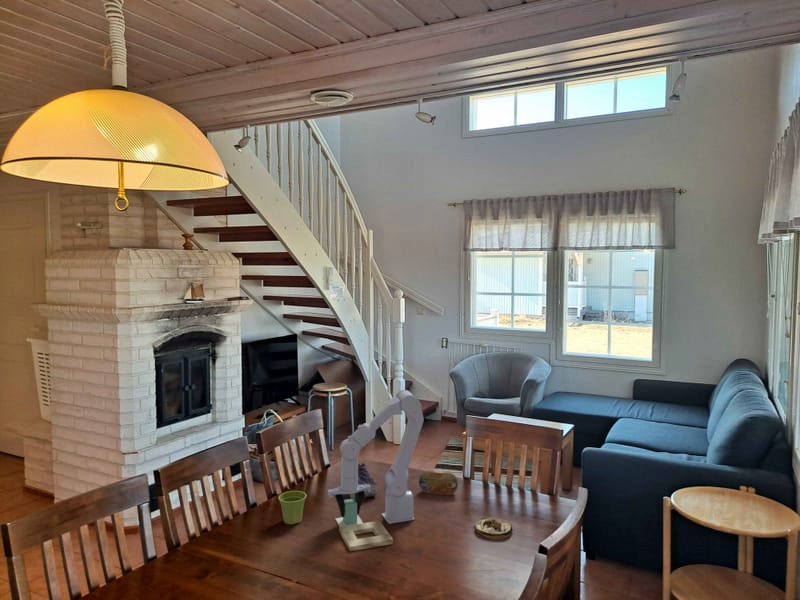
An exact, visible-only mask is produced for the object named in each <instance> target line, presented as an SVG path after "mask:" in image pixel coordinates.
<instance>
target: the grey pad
mask: <svg viewBox="0 0 800 600" xmlns="http://www.w3.org/2000/svg"><path fill="white" fill-rule="evenodd" d="M335 522H336V523H337V524H338V528H339V527H343V526H350V525H356V524H350V525H345V523H344V521H343V517H342V516H341V517H337V518H336V517H335ZM362 523H364V522H363V520H362V519H361V517H360V515H359V514H358V515H357V524H362Z"/></svg>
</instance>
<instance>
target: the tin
mask: <svg viewBox="0 0 800 600" xmlns="http://www.w3.org/2000/svg"><path fill="white" fill-rule="evenodd" d="M458 481H459V480H458V479H457V477H456V475H455V474H453V473H452V472H448V471H447V472H446V471H436V470H426V471H425V472H423V473H422V474H420V477H419V478H418V484H419V487H420V489H421V490H422V492H424V493H426V494H429V493H430V495H431V494H432V495H441V496H452V495H454V494H455V492H456V491H457V489H458V486H459V482H458Z"/></svg>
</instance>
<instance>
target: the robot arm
mask: <svg viewBox="0 0 800 600" xmlns="http://www.w3.org/2000/svg"><path fill="white" fill-rule="evenodd" d="M402 411H403V412H402ZM403 413H404V414H405V416H406V418H407V423H406V426H405V429H404V431H403V435H402V438H401V441H400V445H399V447H398V451H397V452H396V456H395V459H394V462H393V463H392V464H391V465H390V468H389V469H388V471H387V472H386V473H385V475H384V478H383V479H384V483H385V484H386V490H385V503H384V505H385V512H383V513H381V516H382V517H383V518H384V520H385V521H386V523H387V524H397V523H403V522H409V521H414V520H415V517H414V514H415V513H414V507H415V506H414V505H415V503H414V495H413V493H412V491H411V490H408V487H409V486H408V479H409V467H410V463H411V462H412V461H411V460H412V458H413V454H414V452H415V448H416V446H417V443H418V439H419V436H420V432H421V431H422V427H423V424H424V422H425V421H424V420H425V419H424V414H423V410H422V404H421V402H420V401H419V399H418V398H417V397H416V395H414V394H412V392H411V391H409V390H407V389H401V390H400V391H399V390H398V392H397V393H396V395H394V396H392V397H391V399H390V400H389V401H388V402H387V404H386V405H384V407H382V408H381V410H380V411H379V412H378V413H377V414H376V415H375V416H374V417H373V418H372V419H371V420H370V421H369V422H366V423H363V424H359V425H358V426H357V429H356V430H355V431H354V432H353V433H352V434H351V435H349V436H347V439H344V440H343V441H341V443H340V446H339V450H340V453H341V458H340V460H341V462H340V478H341V479H340V486H338V487H336V488H330V489H328V490H327V496H328V498H333V497H334V498H335V501H336V502H337V505H338V509H339V514H340V516H341V517H344V500H345V498H344V496H345V495H350V494H353V493H355V501H356V502H357V515H358V516H359V514H360V510H361V506H362V504H363V502H364V500H365V499H366V498H365V493H364V492H371V486H370V485H369V484H368V485H358V464H359V461H358V458H359V455H360V452H361V450H362V449H363V448H364V447H366V445H367V444H368V443H369V442H370V441H372V440H373V438H375V437H376V431H377V430H378V429H379V428H380V427H381V426H382V425H384V424H385V423H386V422H387V421H389V419H390V418H391V417H393V416H394V415H395V416H396V415H403Z"/></svg>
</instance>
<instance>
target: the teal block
mask: <svg viewBox="0 0 800 600" xmlns="http://www.w3.org/2000/svg"><path fill="white" fill-rule="evenodd" d="M343 521H344V523H345V525H350V524H357V502H356V501H355V499H351V498H350V499H349V498H348V499H344V517H343Z"/></svg>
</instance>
